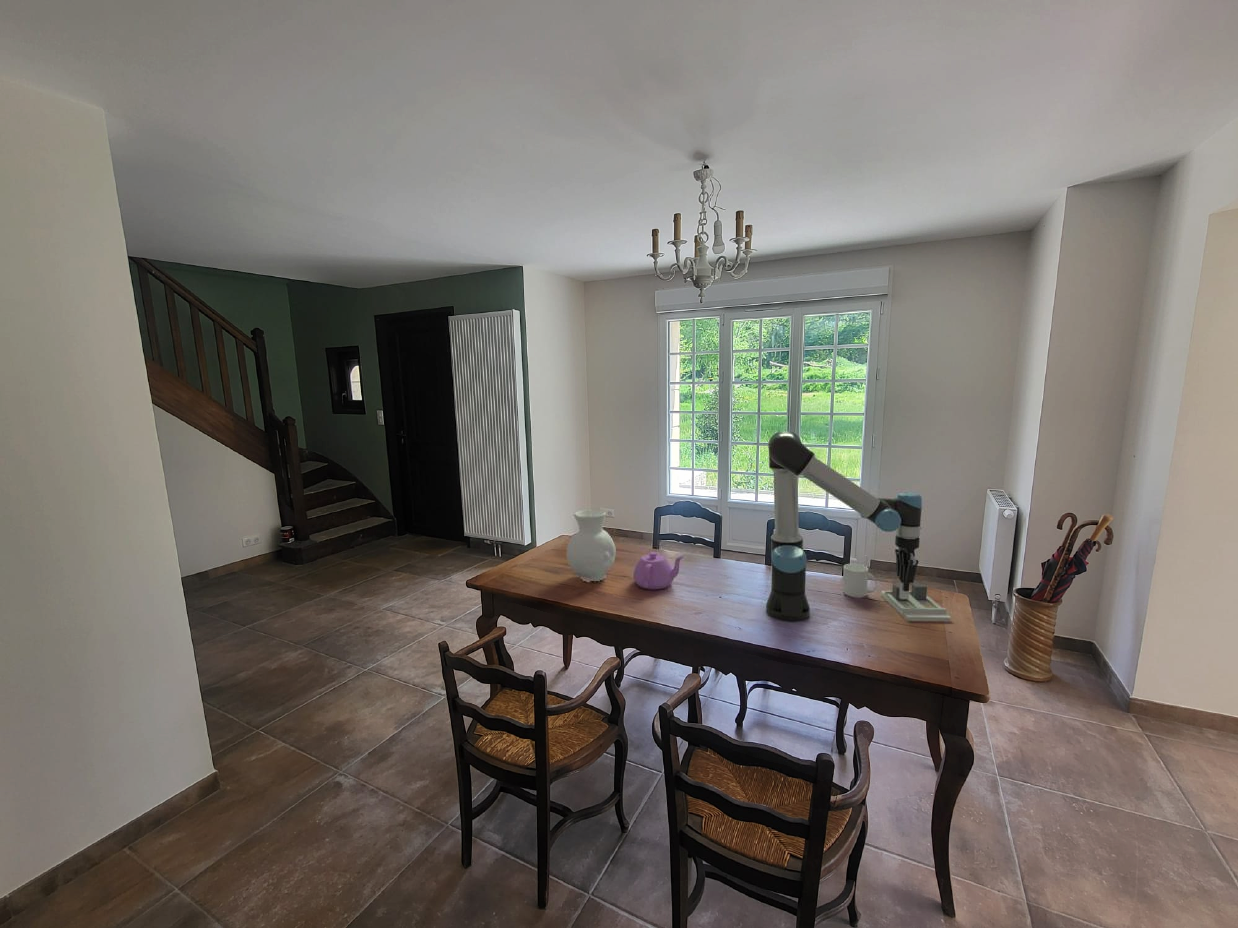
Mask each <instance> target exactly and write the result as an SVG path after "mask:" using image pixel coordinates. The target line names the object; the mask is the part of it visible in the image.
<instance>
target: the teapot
mask: <svg viewBox="0 0 1238 928" xmlns="http://www.w3.org/2000/svg"><path fill="white" fill-rule="evenodd" d="M648 553H649V554H644V555H642V556H641V557H640V558H639V559H638V562H637V563H636V565H635V568H634V571H633V576H632V577H633V581H634V582H635V584H637V586H639V587H640V588H642V587H643V588H642V589H645V588H646V589H645V590H661V589H665V588H668V587H669V586H670V585H671V584H672V583H673V581H674V580H675V578H676V577H677V576H678V575H679V572H680V562H681V560H682V559H683V558H684V557H685V556H684V555H681V556H679V557H676V558H675V559H674V566H673V567H672V565H671V564H670V562H669V561H668V559H667V558H666V556H665V555H662V553H661V552H656V551H651V552H650V551H649V552H648Z"/></svg>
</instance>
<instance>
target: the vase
mask: <svg viewBox="0 0 1238 928" xmlns="http://www.w3.org/2000/svg"><path fill="white" fill-rule="evenodd" d="M606 515H607V512H606V511H605V510H602V509H601V510H600V509H584V510H583V509H582V510H579V511H575V512H574V513H573V516H574V518H575V520H576V522H577V525H578V529H579V531H577V532H575V533H574V534H573V535H572V537H570V540H569V541H568V544H567V547H566V548H567V549H566V560H567V563H568V565H569V567H570V569H571V570H572V572H573V573H574V574H576V575H578V576H579V578H580V577H581V578H583V579H585V580H589V581H594V582H596V581H598V580H601V579H604V578H605V579H606V577H607V576H606V574H607V572H608V571H610V570H611V569H612V567H613V565H614V563H615V560H616V554H617V552H616V551H617V549H616V544H615V543H614V540H613V538H612V537H611V535H610V534H609V533H608V532H607V531H606V530H604V528H603V527H604V522H605V517H606ZM605 579H604V580H605ZM598 582H599V581H598Z"/></svg>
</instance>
